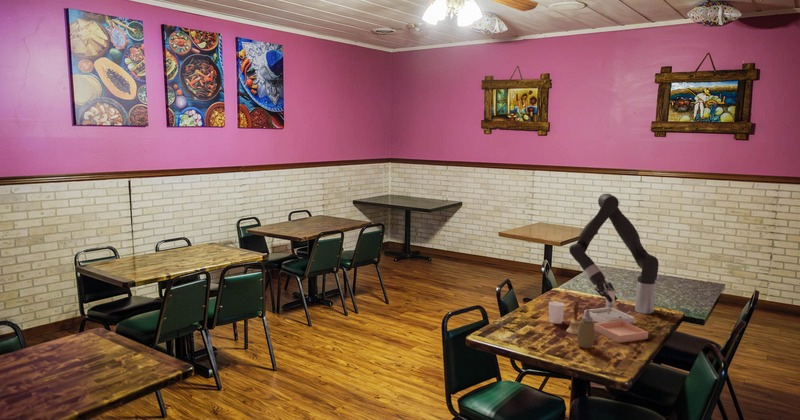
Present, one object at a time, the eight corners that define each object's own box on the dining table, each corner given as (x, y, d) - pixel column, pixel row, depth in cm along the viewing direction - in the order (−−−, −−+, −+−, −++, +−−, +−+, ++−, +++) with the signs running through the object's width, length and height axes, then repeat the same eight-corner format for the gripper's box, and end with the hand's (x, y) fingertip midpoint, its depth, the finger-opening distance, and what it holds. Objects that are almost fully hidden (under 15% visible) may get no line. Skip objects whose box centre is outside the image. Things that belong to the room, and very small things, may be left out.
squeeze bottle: (573, 343, 270) (576, 307, 267) (589, 343, 271) (592, 306, 268) (580, 349, 262) (582, 312, 259) (597, 349, 263) (599, 312, 260)
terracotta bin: (621, 326, 295) (622, 320, 295) (647, 338, 278) (648, 331, 278) (593, 330, 289) (594, 323, 288) (618, 342, 272) (619, 335, 272)
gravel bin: (610, 313, 317) (610, 307, 317) (633, 323, 300) (634, 317, 300) (584, 316, 311) (584, 310, 310) (606, 326, 294) (607, 320, 294)
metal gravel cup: (610, 305, 307) (611, 288, 306) (616, 307, 303) (617, 290, 302) (603, 305, 306) (604, 289, 305) (609, 308, 302) (610, 291, 301)
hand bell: (564, 328, 290) (566, 298, 288) (580, 329, 290) (582, 299, 288) (568, 334, 282) (570, 303, 280) (585, 335, 282) (587, 304, 279)
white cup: (563, 320, 303) (564, 302, 302) (562, 325, 296) (564, 306, 294) (548, 318, 306) (549, 300, 304) (547, 323, 298) (548, 304, 297)
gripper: (592, 272, 303) (611, 299, 296) (606, 268, 312) (625, 294, 305) (582, 280, 308) (601, 307, 300) (596, 276, 317) (615, 301, 310)
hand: (613, 300), depth 303 cm, fingers closed on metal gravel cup, 4 cm apart
